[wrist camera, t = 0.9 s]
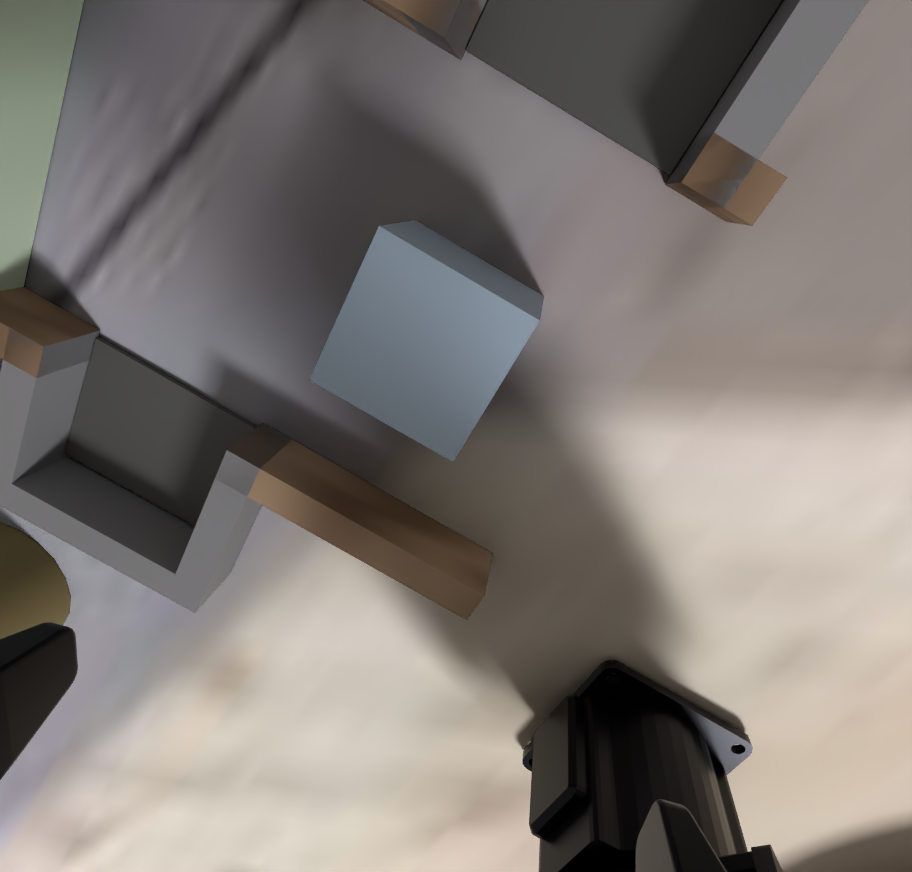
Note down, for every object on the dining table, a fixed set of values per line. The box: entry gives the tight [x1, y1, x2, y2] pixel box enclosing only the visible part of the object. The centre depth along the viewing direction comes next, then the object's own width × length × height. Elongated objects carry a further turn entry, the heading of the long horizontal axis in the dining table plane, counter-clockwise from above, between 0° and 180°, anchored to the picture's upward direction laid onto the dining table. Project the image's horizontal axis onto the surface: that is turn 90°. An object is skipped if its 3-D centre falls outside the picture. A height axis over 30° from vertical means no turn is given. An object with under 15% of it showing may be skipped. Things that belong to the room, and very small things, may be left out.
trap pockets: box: [0, 0, 869, 613], centre depth 18 cm, size 16×27×2 cm, turn 152°
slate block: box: [309, 220, 544, 462], centre depth 17 cm, size 4×4×4 cm
